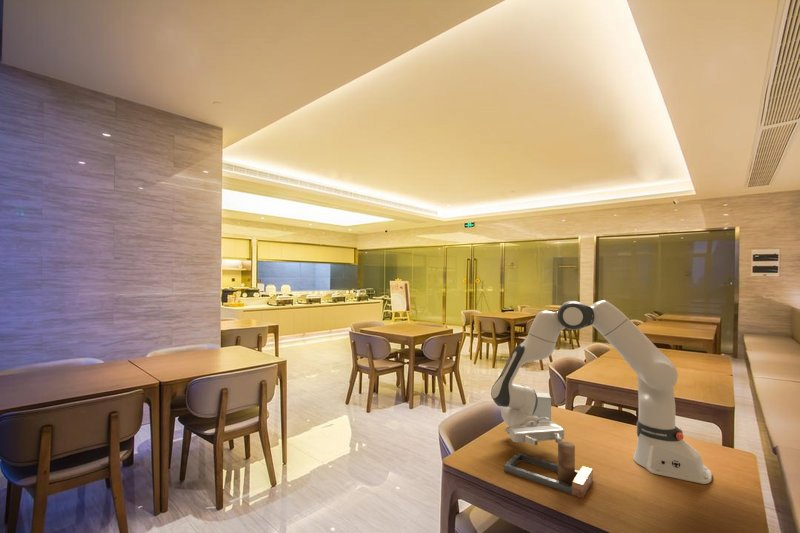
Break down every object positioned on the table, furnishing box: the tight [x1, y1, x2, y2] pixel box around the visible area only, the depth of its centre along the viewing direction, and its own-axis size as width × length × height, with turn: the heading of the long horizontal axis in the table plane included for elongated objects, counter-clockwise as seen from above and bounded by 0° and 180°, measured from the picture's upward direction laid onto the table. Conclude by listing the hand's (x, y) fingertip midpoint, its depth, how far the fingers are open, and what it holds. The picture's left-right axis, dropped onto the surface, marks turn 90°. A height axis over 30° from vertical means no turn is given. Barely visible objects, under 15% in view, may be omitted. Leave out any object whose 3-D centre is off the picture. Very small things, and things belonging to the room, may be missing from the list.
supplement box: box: [533, 392, 552, 421], centre depth 176 cm, size 7×7×13 cm
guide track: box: [503, 452, 594, 499], centre depth 129 cm, size 25×12×4 cm, turn 51°
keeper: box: [557, 441, 576, 485], centre depth 125 cm, size 5×5×12 cm
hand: (548, 442), depth 135 cm, fingers open, 8 cm apart
